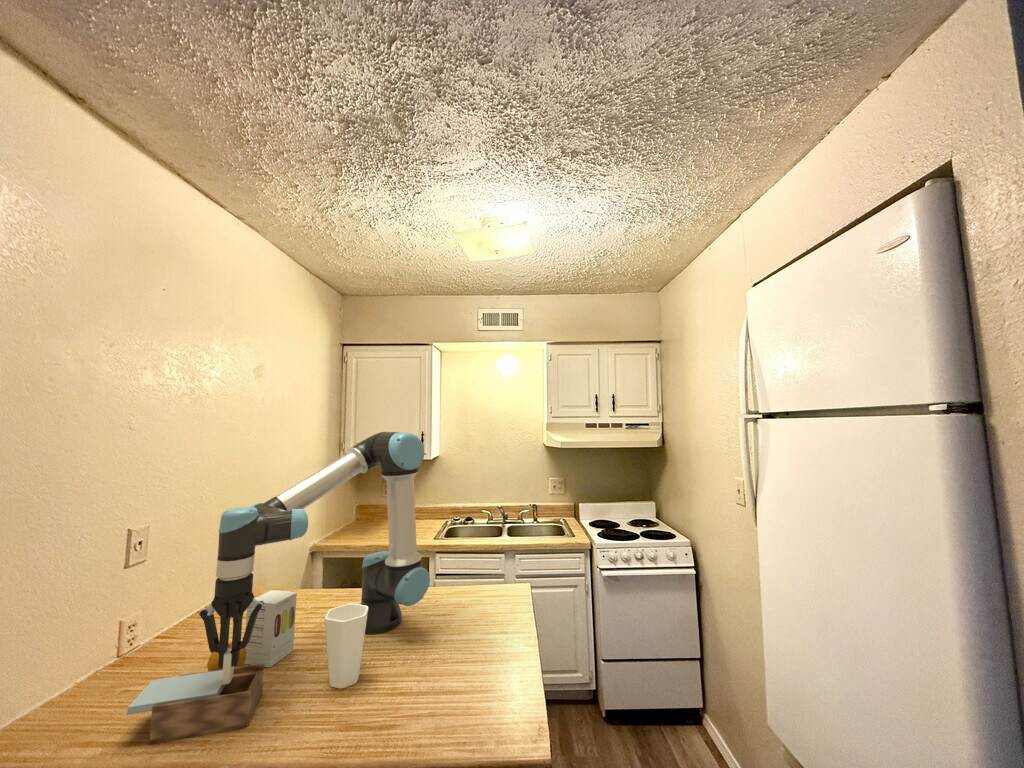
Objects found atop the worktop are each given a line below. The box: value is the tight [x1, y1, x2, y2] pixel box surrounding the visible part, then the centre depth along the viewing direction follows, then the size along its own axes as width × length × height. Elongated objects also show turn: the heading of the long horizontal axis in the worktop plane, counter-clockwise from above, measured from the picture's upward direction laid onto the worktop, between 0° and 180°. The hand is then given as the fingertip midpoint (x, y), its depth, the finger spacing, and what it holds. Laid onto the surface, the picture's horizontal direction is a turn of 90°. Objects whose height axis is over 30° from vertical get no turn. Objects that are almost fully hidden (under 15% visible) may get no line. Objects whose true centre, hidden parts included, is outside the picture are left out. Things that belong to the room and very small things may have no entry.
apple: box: [206, 641, 246, 671], centre depth 111 cm, size 9×8×9 cm
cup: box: [324, 603, 368, 689], centre depth 111 cm, size 11×10×17 cm
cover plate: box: [126, 670, 226, 716], centre depth 95 cm, size 16×10×2 cm, turn 107°
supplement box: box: [244, 589, 298, 668], centre depth 122 cm, size 10×9×17 cm
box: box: [148, 664, 265, 745], centre depth 96 cm, size 18×12×7 cm, turn 107°
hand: (227, 680), depth 97 cm, fingers closed
